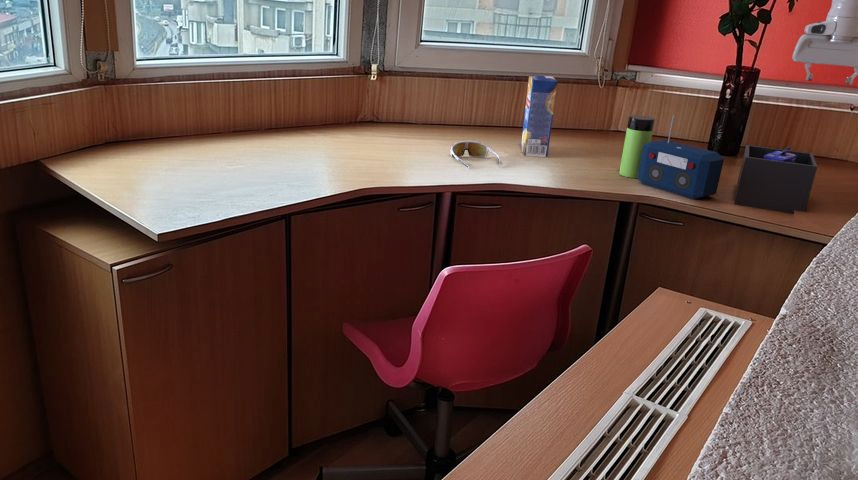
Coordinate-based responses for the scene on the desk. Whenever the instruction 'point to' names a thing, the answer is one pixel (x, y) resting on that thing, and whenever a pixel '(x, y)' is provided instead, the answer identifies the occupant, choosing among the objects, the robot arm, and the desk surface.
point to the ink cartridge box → (781, 156)
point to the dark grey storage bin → (775, 180)
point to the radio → (680, 168)
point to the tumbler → (635, 143)
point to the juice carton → (538, 115)
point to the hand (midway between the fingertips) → (828, 82)
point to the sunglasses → (470, 150)
